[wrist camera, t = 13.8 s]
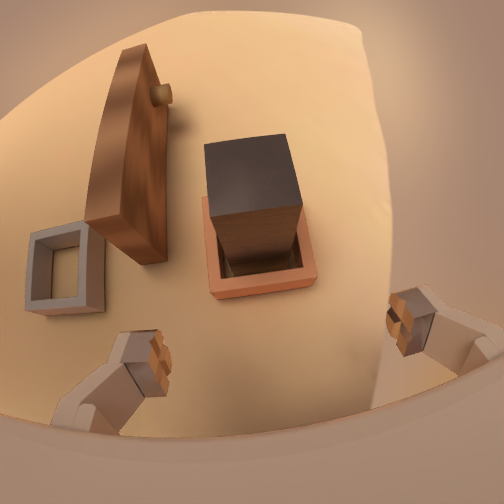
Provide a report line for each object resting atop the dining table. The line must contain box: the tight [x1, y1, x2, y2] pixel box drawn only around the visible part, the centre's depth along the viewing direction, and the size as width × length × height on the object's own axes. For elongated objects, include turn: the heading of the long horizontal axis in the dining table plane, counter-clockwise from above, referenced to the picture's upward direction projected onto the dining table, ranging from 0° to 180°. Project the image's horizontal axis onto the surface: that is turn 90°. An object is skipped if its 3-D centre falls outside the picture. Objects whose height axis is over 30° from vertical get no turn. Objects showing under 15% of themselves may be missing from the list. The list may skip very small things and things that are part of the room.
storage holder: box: [25, 220, 105, 316], centre depth 22 cm, size 7×7×3 cm
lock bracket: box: [202, 196, 317, 299], centre depth 22 cm, size 7×7×3 cm
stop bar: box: [204, 134, 303, 277], centre depth 18 cm, size 4×4×11 cm
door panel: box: [84, 44, 173, 265], centre depth 22 cm, size 18×4×9 cm, turn 8°
